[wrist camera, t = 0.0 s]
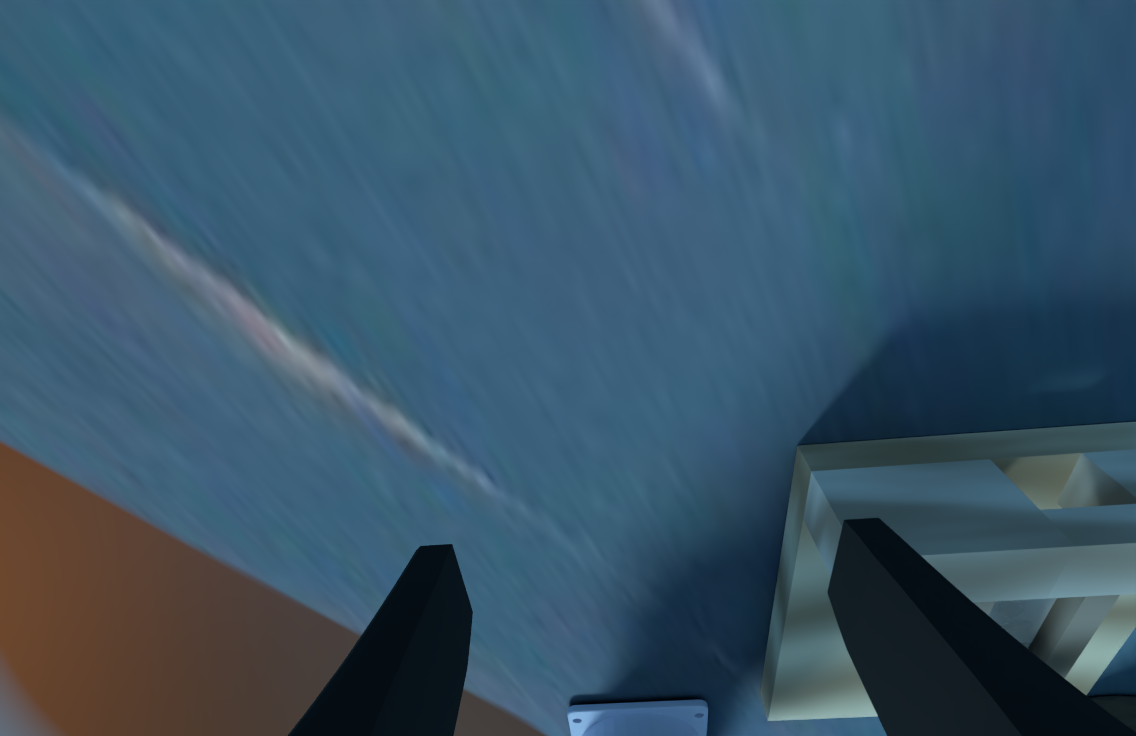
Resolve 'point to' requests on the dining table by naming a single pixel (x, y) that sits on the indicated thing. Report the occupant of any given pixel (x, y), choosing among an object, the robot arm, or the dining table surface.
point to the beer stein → (1120, 708)
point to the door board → (806, 578)
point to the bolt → (1022, 617)
